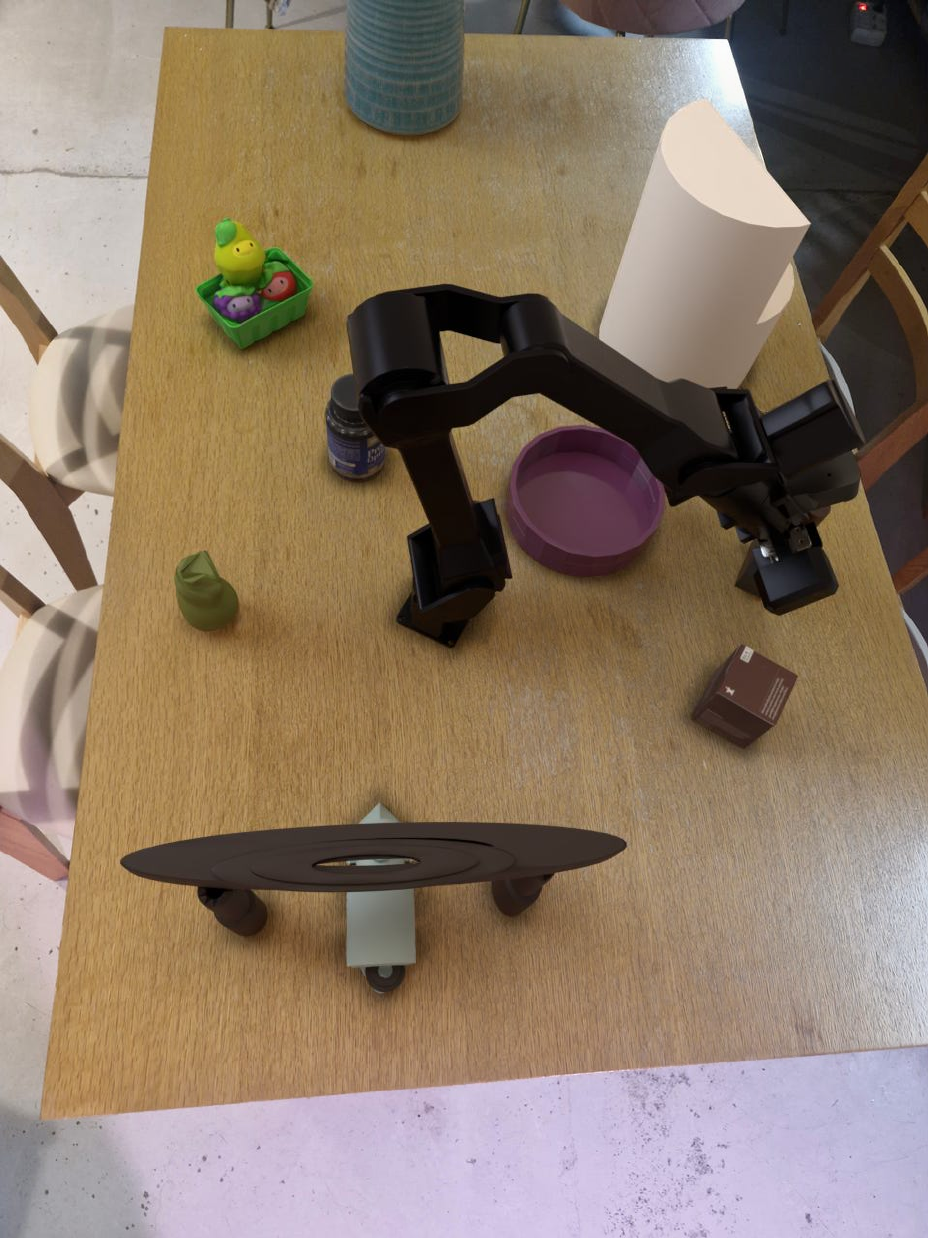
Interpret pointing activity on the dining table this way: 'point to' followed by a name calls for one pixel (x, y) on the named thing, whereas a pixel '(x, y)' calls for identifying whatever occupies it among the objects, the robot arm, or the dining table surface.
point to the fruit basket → (252, 286)
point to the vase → (405, 63)
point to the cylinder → (703, 257)
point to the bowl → (582, 501)
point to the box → (744, 697)
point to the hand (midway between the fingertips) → (800, 539)
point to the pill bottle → (351, 435)
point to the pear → (204, 594)
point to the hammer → (749, 564)
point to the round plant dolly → (372, 873)
